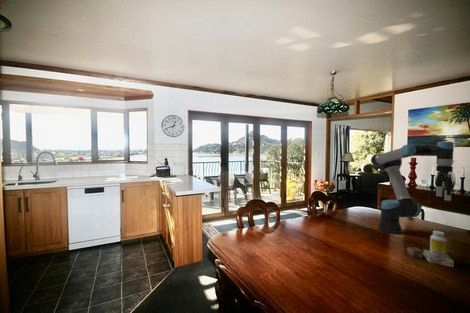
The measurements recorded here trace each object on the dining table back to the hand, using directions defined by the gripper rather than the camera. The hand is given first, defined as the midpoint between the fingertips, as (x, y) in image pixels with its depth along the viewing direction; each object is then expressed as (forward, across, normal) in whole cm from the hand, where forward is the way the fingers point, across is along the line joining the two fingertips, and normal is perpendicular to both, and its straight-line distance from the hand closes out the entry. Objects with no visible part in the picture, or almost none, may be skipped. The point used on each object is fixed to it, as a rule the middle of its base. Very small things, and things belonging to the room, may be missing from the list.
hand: (443, 198), depth 137 cm
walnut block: (+32, -24, +19) cm, 44 cm away
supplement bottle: (+28, -25, +9) cm, 39 cm away
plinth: (+32, -25, +9) cm, 41 cm away
